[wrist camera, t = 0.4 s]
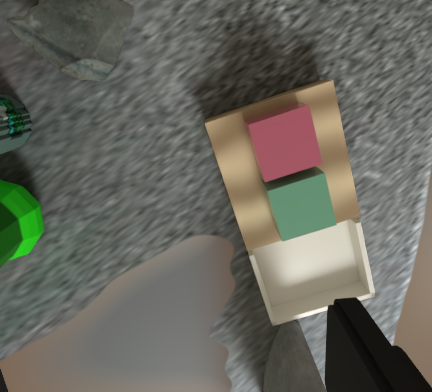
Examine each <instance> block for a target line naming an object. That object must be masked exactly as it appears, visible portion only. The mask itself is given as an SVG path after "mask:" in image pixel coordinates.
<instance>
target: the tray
mask: <svg viewBox="0 0 432 392" xmlns="http://www.w3.org/2000/svg"><path fill="white" fill-rule="evenodd" d="M248 254H249V257H250V260H251V263H252V266H253V269H254V272H255V276H256V279H257V282H258V285H259V288H260V291H261V294H262V297H263V300H264V303H265V306H266V309H267V312H268V315H269V318H270V321H271V324H272V326H275V325H278V324H282V323H285V322H288V321H292V320H295V319H299V318H302V317H306V316H309V315H312V314H316V313H319V312H323V311H326V310H327V309H328V305H333V303H334V300H335V299H340V298H352V297H356V298H358V300H359V301H360V300H363V299H367V298H370V297H374V296H376V295H375V290H374V286H373V281H372V276H371V271H370V266H369V261H368V256H367V251H366V246H365V241H364V237H363V232H362V227H361V222H360V221H359V220H358V219H356V218H353V219H349V220H346V221H343V222H340V223H337V225H335V226H332V227H329V228H325V229H322V230H319V231H316V232H312V233H309V234H306V235H303V236H299V237H296V238H293V239H290V240H287V241H283V242H282V241H278V242H275V243H272V244H269V245H265V246H262V247H259V248H256V249H252V250H249V251H248Z"/></svg>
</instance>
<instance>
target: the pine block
mask: <svg viewBox="0 0 432 392" xmlns="http://www.w3.org/2000/svg"><path fill="white" fill-rule="evenodd" d="M297 102H299V103H304V104H308V105H309V106H310V110H311V115H312V119H313V124H314V128H315V132H316V137H317V141H318V145H319V150H320V154H321V158H322V163H323V164H320V165H317V166H316V167H318V168H319V169H320V170H322V171H323V172H324V173H325V176H326V180H327V184H328V189H329V193H330V198H331V202H332V206H333V211H334V215H335V219H336V224H337V223H340V222H343V221H346V220H349V219H353V218H356V217H359V216H360V211H359V206H358V201H357V196H356V191H355V186H354V181H353V177H352V172H351V167H350V162H349V157H348V152H347V147H346V142H345V137H344V132H343V127H342V122H341V117H340V112H339V108H338V103H337V98H336V93H335V88H334V83H333V80H320V81H317V82H314V83H311V84H308V85H305V86H302V87H299V88H296V89H293V90H290V91H287V92H284V93H281V94H278V95H275V96H272V97H269V98H266V99H264V100H261V101H258V102H255V103H252V104H249V105H246V106H243V107H240V108H237V109H234V110H231V111H228V112H225V113H222V114H219V115H216V116H213V117H210V118H207V119H205V126H206V129H207V132H208V135H209V138H210V141H211V144H212V147H213V150H214V153H215V156H216V159H217V162H218V165H219V168H220V171H221V174H222V177H223V180H224V183H225V186H226V189H227V192H228V195H229V198H230V201H231V204H232V207H233V210H234V213H235V216H236V219H237V222H238V225H239V228H240V231H241V234H242V237H243V240H244V243H245V246H246V249H247V251H249V250H252V249H256V248H259V247H262V246H265V245H269V244H272V243H275V242H278V241H282V240H281V238H280V236H279V234H278V232H277V230H276V228H275V226H274V222H273V219H272V215H271V212H270V209H269V205H268V202H267V198H266V195H265V192H264V188H263V185H262V182H261V180H263V178H262V177H261V175H260V174H259V171H258V168H257V165H256V161H255V158H254V154H253V151H252V148H251V144H250V141H249V138H248V134H247V131H246V127H245V124H244V121H243V120H246V119H249V118H252V117H255V116H258V115H261V114H264V113H267V112H270V111H273V110H276V109H279V108H282V107H285V106H288V105H291V104H294V103H297Z"/></svg>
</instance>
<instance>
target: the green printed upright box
mask: <svg viewBox="0 0 432 392" xmlns="http://www.w3.org/2000/svg"><path fill="white" fill-rule="evenodd" d="M23 108H24V105H23V104H21V103H20V102H18V101H17V100H15V99H14V98H13V97H11V96H10V95H2V94H1V93H0V154H3V153H5V152H8V151H11V150H14V149H16V148H18V147H19V146H22V145H24V143H25V142H26V140H27V139H28V137H29V135H30V134H31V132H32V131H31V130H30V129H29V128H30V126H31V125H32V123H31V122H30V119H31V118H30V117H28V115H29V113H28V112H27V111H25V110H24V109H23Z"/></svg>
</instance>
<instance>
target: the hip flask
mask: <svg viewBox="0 0 432 392" xmlns="http://www.w3.org/2000/svg"><path fill="white" fill-rule="evenodd" d="M263 392H326V389H325V387H324V384H323V382H322V379H321V377H320V374H319V372H318V369H317V367H316V364H315V362H314V359H313V357H312V354H311V352H310V349H309V347H308V344H307V342H306V339H305V337H304V334H303V332H302V329H301V327H300V324H299V323H298V322H297V321H294V320H292V321H288V322H285V323H282V324H281V325H280V327H279V329H278V331H277V333H276V335H275V338H274V340H273V343H272V346H271V349H270V352H269V355H268V359H267V364H266V368H265V374H264V384H263Z"/></svg>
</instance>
